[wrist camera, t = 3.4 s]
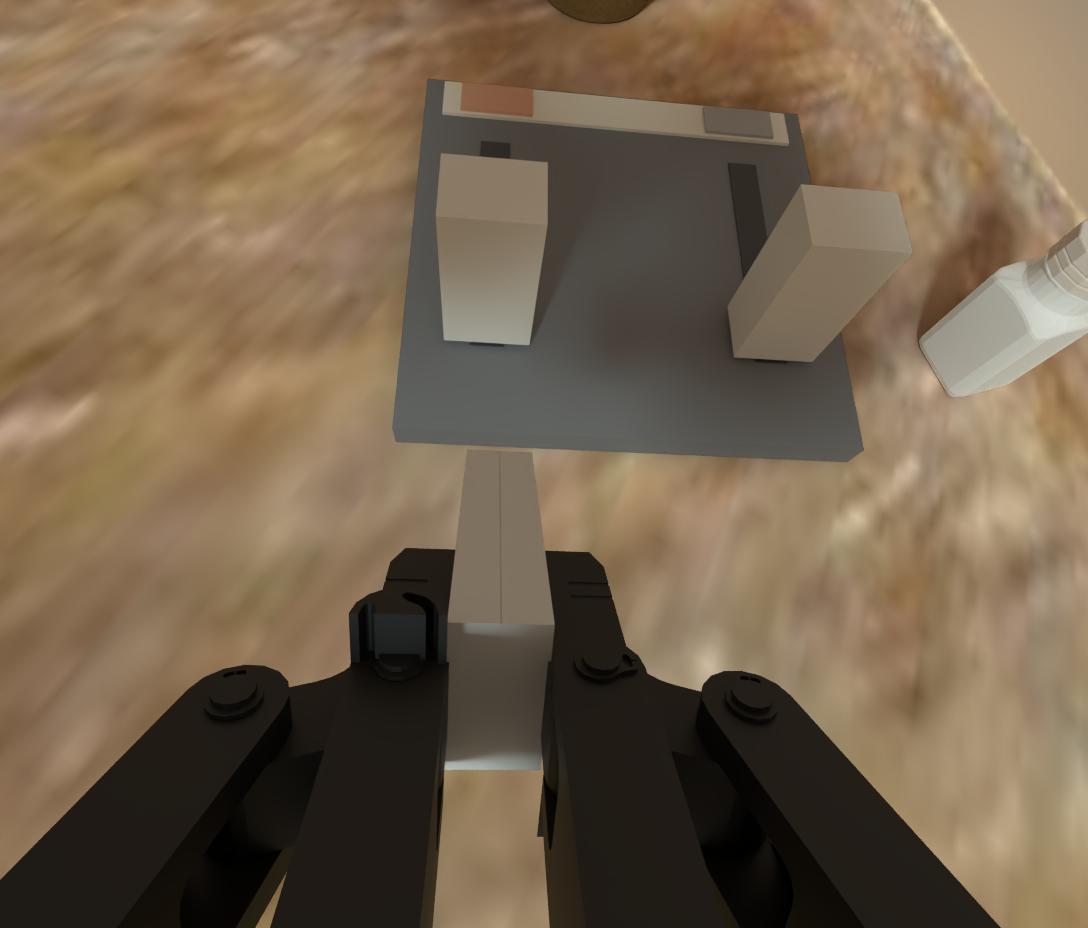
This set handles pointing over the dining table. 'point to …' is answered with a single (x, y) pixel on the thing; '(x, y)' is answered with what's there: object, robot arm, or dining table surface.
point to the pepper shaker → (1013, 320)
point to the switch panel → (621, 286)
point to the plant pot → (599, 9)
